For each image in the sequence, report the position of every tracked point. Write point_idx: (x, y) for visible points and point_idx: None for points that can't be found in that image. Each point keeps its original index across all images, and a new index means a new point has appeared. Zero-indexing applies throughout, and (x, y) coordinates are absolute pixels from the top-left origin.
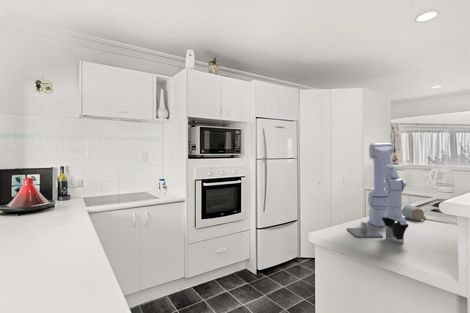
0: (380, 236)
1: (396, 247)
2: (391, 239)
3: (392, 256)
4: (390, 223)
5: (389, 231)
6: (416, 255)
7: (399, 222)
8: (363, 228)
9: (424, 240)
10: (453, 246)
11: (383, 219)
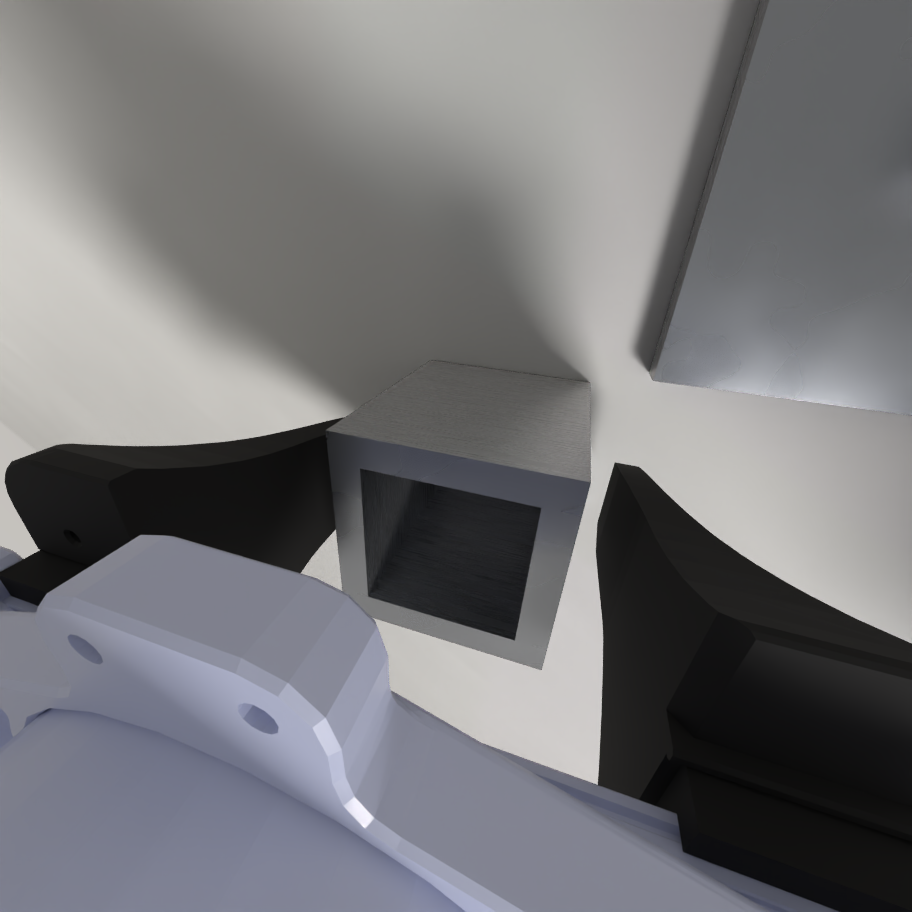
0: (663, 333)
1: (286, 311)
2: (425, 371)
3: (22, 77)
4: (622, 640)
5: (439, 414)
6: (135, 366)
7: (41, 596)
8: None
9: (467, 671)
10: None
11: (752, 614)
